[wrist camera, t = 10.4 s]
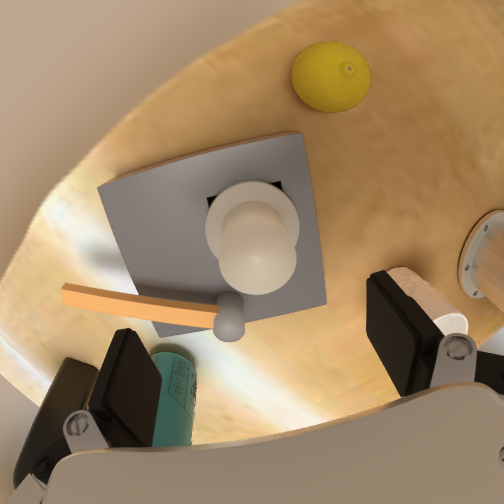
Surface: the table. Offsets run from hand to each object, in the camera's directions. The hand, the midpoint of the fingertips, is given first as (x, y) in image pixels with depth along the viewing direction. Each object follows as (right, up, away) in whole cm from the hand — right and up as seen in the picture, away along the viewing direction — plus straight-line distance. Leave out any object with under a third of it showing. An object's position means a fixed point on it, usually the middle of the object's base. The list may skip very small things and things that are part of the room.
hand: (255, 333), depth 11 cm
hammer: (-9, 0, +14) cm, 16 cm away
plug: (0, +7, +15) cm, 17 cm away
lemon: (+5, +17, +11) cm, 21 cm away
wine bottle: (-24, -14, +24) cm, 37 cm away
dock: (-3, +5, +16) cm, 17 cm away
